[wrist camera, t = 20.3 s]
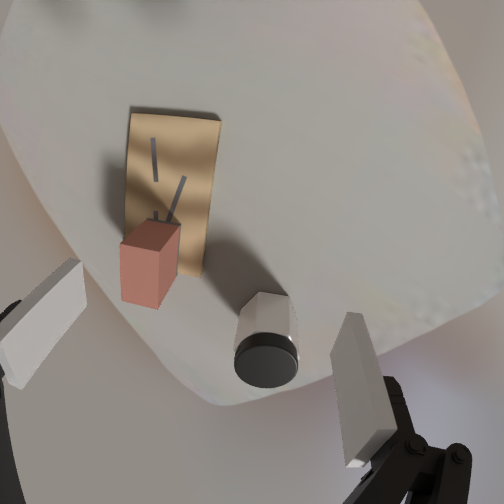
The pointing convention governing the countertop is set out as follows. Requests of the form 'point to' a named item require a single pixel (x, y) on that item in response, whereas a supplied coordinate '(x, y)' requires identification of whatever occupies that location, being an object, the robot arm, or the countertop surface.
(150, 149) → the board
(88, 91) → the countertop surface
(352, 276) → the countertop surface
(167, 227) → the block
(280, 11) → the countertop surface
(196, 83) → the countertop surface
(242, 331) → the jar
